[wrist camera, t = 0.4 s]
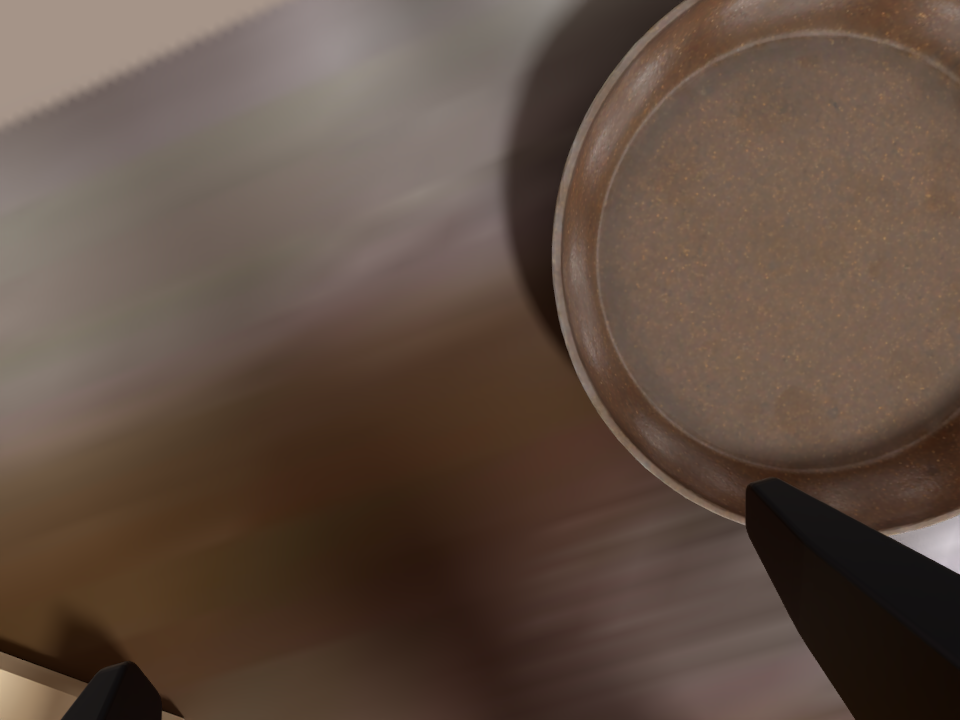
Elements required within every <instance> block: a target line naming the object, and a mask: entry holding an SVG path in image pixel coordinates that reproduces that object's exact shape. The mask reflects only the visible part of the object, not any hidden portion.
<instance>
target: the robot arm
mask: <svg viewBox="0 0 960 720" xmlns="http://www.w3.org/2000/svg"><path fill="white" fill-rule="evenodd" d="M745 524H746V529H747V533H748V535H749V538H750V540H751V542H752V544H753V546H754V548H755V550H756V552H757V553H758V555H759V557H760V559H761V561H762V563H763V565H764V567H765V569H766V571H767V573H768V575H769V577H770V579H771V581H772V583H773V585H774V587H775V588H776V590H777V592H778V594H779V596H780V598H781V600H782V602H783V604H784V606H785V608H786V610H787V612H788V614H789V616H790V618H791V619H792V621H793V623H794V625H795V627H796V629H797V631H798V632H799V634H800V636H801V637H802V639H803V640H804V642H805V644H806V645H807V647H808V648H809V650H810V651H811V653H812V654H813V656H814V657H815V659H816V660H817V662H818V663H819V665H820V667H821V668H822V670H823V671H824V673H825V674H826V676H827V677H828V679H829V680H830V682H831V683H832V685H833V686H834V688H835V689H836V691H837V692H838V694H839V695H840V697H841V698H842V700H843V701H844V703H845V704H846V706H847V707H848V709H849V711H850V712H851V714H852V715H853V717H854V718H855V720H960V574H958V573H956V572H954V571H952V570H950V569H948V568H946V567H945V566H943V565H941V564H939V563H937V562H935V561H933V560H931V559H929V558H928V557H926V556H924V555H922V554H920V553H918V552H916V551H914V550H913V549H911V548H909V547H907V546H905V545H903V544H901V543H899V542H897V541H896V540H894V539H892V538H890V537H888V536H886V535H884V534H882V533H881V532H879V531H877V530H875V529H873V528H871V527H869V526H867V525H866V524H864V523H862V522H860V521H858V520H856V519H854V518H852V517H850V516H849V515H847V514H845V513H843V512H841V511H839V510H837V509H835V508H834V507H832V506H830V505H828V504H826V503H824V502H822V501H820V500H818V499H817V498H815V497H813V496H811V495H809V494H807V493H805V492H803V491H802V490H800V489H798V488H796V487H794V486H792V485H790V484H788V483H786V482H785V481H783V480H781V479H779V478H775V477H769V478H765V479H762V480H758V481H755V482H751V483H749V484H748V485H747V487H746V492H745ZM61 720H162V702H161V698H160V695H159V693H158V691H157V690H156V689H155V687H154V686H153V685H152V684H151V682H150V681H149V680H148V678H147V677H146V676H145V675H144V673H143V672H142V671H141V670H140V668H139V667H138V666H137V665H136V664H135V663H133V662H131V661H125V662H122V663H118V664H115V665H111V666H108V667H105V668H103V669H101V670H100V671H98V672H97V673H96V675H95V676H94V677H93V678H92V680H91V681H90V682H89V683H88V685H87V686H86V687H85V689H84V690H83V691H82V692H81V694H80V695H79V696H78V698H77V699H76V700H75V701H74V703H73V704H72V705H71V707H70V708H69V709H68V711H67V712H66V713H65V714H64V716H63V717H62V718H61Z"/></svg>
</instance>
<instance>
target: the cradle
mask: <svg viewBox="0 0 960 720" xmlns="http://www.w3.org/2000/svg"><path fill="white" fill-rule="evenodd" d="M87 685H88V684H87V683H85V682H82V681H79V680H77V679H74V678H71V677H68V676H66V675H63V674H60V673H57V672H55V671H52V670H49V669H46V668H44V667H41V666H38V665H35V664H33V663H30V662H27V661H24V660H22V659H19V658H16V657H13V656H11V655H8V654H5V653H2V652H0V720H61V718H62V717H63V716H64V714H65V713H66V712H67V711H68V709H69V708H70V707H71V705H72V704H73V703H74V701H75V700H76V699H77V698H78V696H79V695H80V694H81V692H82V691H83V690H84V689H85V687H86V686H87ZM162 720H184V718H181V717H178V716H175V715H173V714H170V713H167V712H164V711H162Z"/></svg>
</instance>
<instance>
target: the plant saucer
mask: <svg viewBox="0 0 960 720" xmlns="http://www.w3.org/2000/svg"><path fill="white" fill-rule="evenodd" d="M552 275H553V287H554V294H555V300H556V307H557V312H558V317H559V322H560V326H561V330H562V334H563V337H564V340H565V344H566V347H567V350H568V353H569V356H570V358H571V361H572V363H573V366H574V368H575V371H576V373H577V375H578V378H579V380H580V382H581V384H582V386H583V388H584V390H585V392H586V393H587V395H588V397H589V399H590V401H591V403H592V404H593V406H594V407H595V409H596V410H597V412H598V414H599V415H600V417H601V418H602V419H603V421H604V422H605V424H606V425H607V426H608V428H609V429H610V430H611V432H612V433H613V434H614V435H615V437H616V438H617V439H618V440H619V441H620V442H621V444H622V445H623V446H624V447H625V448H626V449H627V450H628V451H629V452H630V453H631V454H632V455H633V456H634V457H635V458H636V460H638V461H639V462H640V463H641V464H642V465H643V466H644V467H645V468H646V469H647V470H649V471H650V472H651V473H652V474H653V475H655V476H656V477H657V478H659V479H660V480H661V481H663V482H664V483H665V484H667V485H668V486H669V487H671V488H672V489H673V490H675V491H676V492H678V493H679V494H681V495H682V496H684V497H685V498H687V499H689V500H691V501H692V502H694V503H696V504H698V505H700V506H702V507H704V508H706V509H708V510H709V511H711V512H714V513H716V514H718V515H720V516H722V517H725V518H727V519H730V520H732V521H735V522H738V523H740V524H743V525H746V524H745V492H746V487H747V485H748V484H749V483H751V482H755V481H758V480H762V479H765V478H769V477H775V478H779V479H781V480H783V481H785V482H786V483H788V484H790V485H792V486H794V487H796V488H798V489H800V490H802V491H803V492H805V493H807V494H809V495H811V496H813V497H815V498H817V499H818V500H820V501H822V502H824V503H826V504H828V505H830V506H832V507H834V508H835V509H837V510H839V511H841V512H843V513H845V514H847V515H849V516H850V517H852V518H854V519H856V520H858V521H860V522H862V523H864V524H866V525H867V526H869V527H871V528H873V529H875V530H877V531H879V532H881V533H882V534H884V535H886V536H890V535H895V534H901V533H905V532H909V531H913V530H917V529H921V528H924V527H928V526H931V525H935V524H937V523H940V522H943V521H945V520H948V519H950V518H953V517H955V516H957V515H960V0H684V1H682V2H681V3H680V4H678V5H677V6H676V7H675V8H673V9H672V10H671V11H670V12H668V13H667V14H666V15H665V16H664V17H662V18H661V19H660V20H659V21H658V22H657V23H656V24H655V25H653V26H652V27H651V28H650V29H649V30H648V31H647V32H646V33H645V34H644V35H643V36H642V37H641V38H640V39H639V40H638V41H637V42H636V43H635V44H634V45H633V47H632V48H631V49H630V50H629V51H628V52H627V54H626V55H625V56H624V57H623V59H622V60H621V61H620V62H619V64H618V65H617V66H616V68H615V69H614V70H613V72H612V73H611V74H610V76H609V77H608V79H607V80H606V81H605V83H604V84H603V86H602V87H601V89H600V90H599V92H598V93H597V95H596V97H595V99H594V100H593V102H592V104H591V106H590V107H589V109H588V111H587V113H586V115H585V117H584V119H583V121H582V123H581V125H580V127H579V130H578V132H577V134H576V137H575V139H574V141H573V144H572V146H571V148H570V151H569V154H568V157H567V161H566V164H565V167H564V170H563V174H562V178H561V182H560V186H559V191H558V196H557V201H556V207H555V214H554V221H553V234H552Z"/></svg>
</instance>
